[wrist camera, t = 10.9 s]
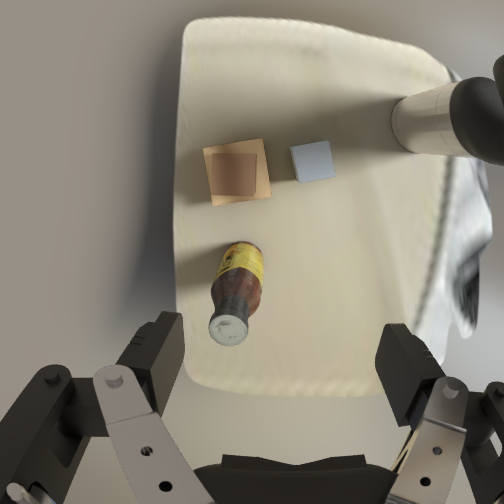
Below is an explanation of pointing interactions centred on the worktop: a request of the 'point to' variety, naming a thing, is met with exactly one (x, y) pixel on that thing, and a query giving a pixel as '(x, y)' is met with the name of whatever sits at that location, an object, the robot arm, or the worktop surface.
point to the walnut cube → (234, 174)
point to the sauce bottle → (236, 293)
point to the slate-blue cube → (312, 161)
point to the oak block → (261, 171)
